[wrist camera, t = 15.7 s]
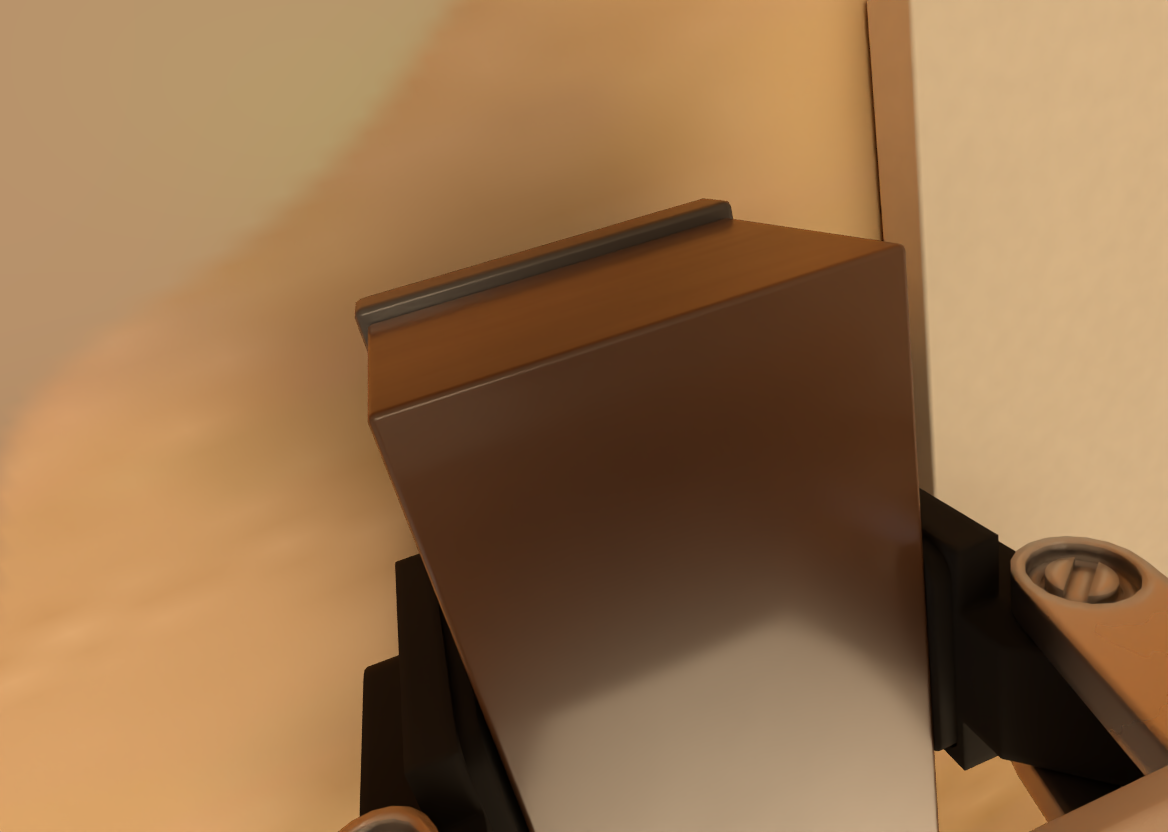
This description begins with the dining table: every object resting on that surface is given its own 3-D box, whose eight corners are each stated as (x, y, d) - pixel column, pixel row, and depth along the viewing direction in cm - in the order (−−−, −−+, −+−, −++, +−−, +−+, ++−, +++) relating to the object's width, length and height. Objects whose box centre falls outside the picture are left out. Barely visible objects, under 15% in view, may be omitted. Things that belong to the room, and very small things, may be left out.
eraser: (706, 196, 10) (917, 216, 6) (791, 716, 14) (953, 927, 10) (353, 299, 9) (342, 397, 5) (549, 823, 13) (625, 1098, 9)
